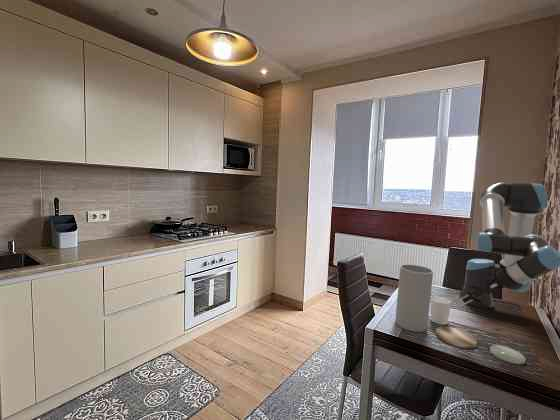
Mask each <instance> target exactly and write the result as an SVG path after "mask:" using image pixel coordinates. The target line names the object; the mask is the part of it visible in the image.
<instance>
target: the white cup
mask: <svg viewBox="0 0 560 420" xmlns="http://www.w3.org/2000/svg"><path fill="white" fill-rule="evenodd" d="M451 305H452V301H451V300H450V299H448V298H445V297H442V296H437V295H435V296H431V297H430V307H429V313H430V314H429V317H430V321H432V322H433V323H434V324H437V325H441V326H445V325H448V323H449V317H450V312H451V307H452V306H451Z"/></svg>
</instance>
